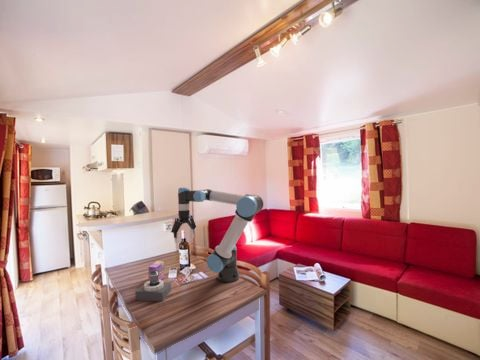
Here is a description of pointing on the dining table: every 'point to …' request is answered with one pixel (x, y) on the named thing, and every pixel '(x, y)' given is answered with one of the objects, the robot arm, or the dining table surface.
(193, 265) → the dining table surface
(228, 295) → the dining table surface
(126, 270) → the dining table surface
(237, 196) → the robot arm
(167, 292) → the camera body
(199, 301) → the dining table surface
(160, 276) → the box
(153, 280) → the lens
